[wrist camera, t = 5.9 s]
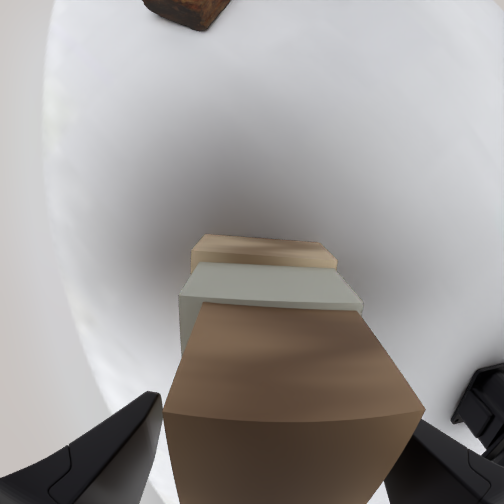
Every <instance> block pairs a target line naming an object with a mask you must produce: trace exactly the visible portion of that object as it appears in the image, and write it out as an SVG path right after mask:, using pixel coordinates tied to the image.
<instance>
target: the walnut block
mask: <svg viewBox="0 0 504 504" xmlns="http://www.w3.org/2000/svg"><path fill="white" fill-rule="evenodd" d="M425 410H426V409H425V408H424V406H423V405H422V403H421V402H420V400H419V399H418V397H417V396H416V394H415V393H414V391H413V390H412V388H411V387H410V385H409V384H408V382H407V381H406V379H405V378H404V376H403V375H402V373H401V372H400V370H399V369H398V368H397V366H396V365H395V363H394V362H393V360H392V359H391V358H390V356H389V355H388V353H387V352H386V350H385V349H384V348H383V346H382V345H381V343H380V342H379V341H378V339H377V338H376V336H375V335H374V334H373V332H372V331H371V329H370V328H369V327H368V325H367V324H366V323H365V321H364V320H363V318H362V317H361V316H360V314H359V313H358V312H357V311H353V310H321V309H299V308H280V307H263V306H248V305H235V304H222V303H211V302H203V303H202V306H201V309H200V311H199V314H198V316H197V319H196V322H195V324H194V327H193V329H192V332H191V335H190V337H189V340H188V342H187V345H186V348H185V350H184V353H183V356H182V358H181V361H180V364H179V366H178V369H177V372H176V375H175V377H174V380H173V383H172V385H171V388H170V391H169V394H168V396H167V399H166V402H165V405H164V408H163V410H162V414H163V421H164V427H165V433H166V439H167V445H168V450H169V455H170V461H171V466H172V470H173V475H174V480H175V484H176V489H177V493H178V497H179V501H180V504H367V502H368V501H369V500H370V498H371V497H372V496H373V494H374V493H375V492H376V490H377V489H378V488H379V486H380V485H381V483H382V482H383V481H384V479H385V478H386V476H387V475H388V473H389V472H390V470H391V469H392V467H393V466H394V464H395V463H396V461H397V460H398V458H399V456H400V455H401V453H402V451H403V450H404V448H405V446H406V445H407V443H408V441H409V440H410V438H411V436H412V434H413V433H414V431H415V429H416V427H417V425H418V423H419V422H420V420H421V418H422V416H423V414H424V412H425Z"/></svg>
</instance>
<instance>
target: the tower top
mask: <svg viewBox="0 0 504 504" xmlns="http://www.w3.org/2000/svg"><path fill="white" fill-rule="evenodd" d="M178 296H179V321H180V339H181V354H182V356H183V353H184V350H185V348H186V345H187V342H188V340H189V337H190V335H191V332H192V329H193V327H194V324H195V322H196V319H197V316H198V314H199V311H200V309H201V306H202V303H203V302H211V303H222V304H235V305H248V306H263V307H280V308H299V309H321V310H353V311H357V312H358V313H359V314H360V316H361V315H362V310H363V304H364V303H363V301H362V300H361V299H360V298H359V297H358V295H357V294H356V293H355V292H354V291H353V290H352V288H351V287H350V286H349V285H348V284H347V282H346V281H345V280H344V279H343V278H342V277H341V275H340V274H339V273H338V272H337V271H336V270H335V268H318V267H296V266H275V265H255V264H235V263H217V262H199V263H198V265H197V266H196V268H195V270H194V271H193V273H192V274H191V276H190V278H189V279H188V281H187V282H186V284H185V286H184V287H183V289H182V290H181V292H180V294H179V295H178Z"/></svg>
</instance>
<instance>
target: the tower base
mask: <svg viewBox="0 0 504 504" xmlns="http://www.w3.org/2000/svg"><path fill="white" fill-rule="evenodd" d="M199 262H217V263H235V264H255V265H275V266H296V267H318V268H335V270H336V269H337V262H338V261H337V260H336V259H335V258H334V257H333V255H332V254H331V253H330V252H329V251H328V250H327V249H326V248H325V247H324V246H323V245H322V244H321V243H318V242H306V241H293V240H280V239H267V238H253V237H239V236H225V235H210V234H205V235H204V236H203V237H202V238H201V239H200V240H199V242H198V243H197V244H196V245H195V246H194V247H193V249H192V250H191V274H192V273H193V271H194V270H195V268H196V266H197V265H198V263H199Z"/></svg>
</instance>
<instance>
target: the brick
mask: <svg viewBox="0 0 504 504" xmlns="http://www.w3.org/2000/svg"><path fill="white" fill-rule="evenodd" d="M142 1H143V2H144V5H145V6H146V7H147V8H148V9H149V10H150V11H152V12H154V13H156V14H158V15H159V16H161V17H164V18H166V19H169V20H172V21H174V22H177V23H180V24H182V25H185V26H189V27H190V28H191V29H194V30H197V31H202V30H205V29H207V28H208V27H209V26H210V24H211V23H212V22H213V20H214V19H215V18H216V17H217V16H218V15H219V13H220V12H221V11H222V10H223V9H224V8H225V7H226V5H227V4H228V3H229V2H230V0H142Z"/></svg>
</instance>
